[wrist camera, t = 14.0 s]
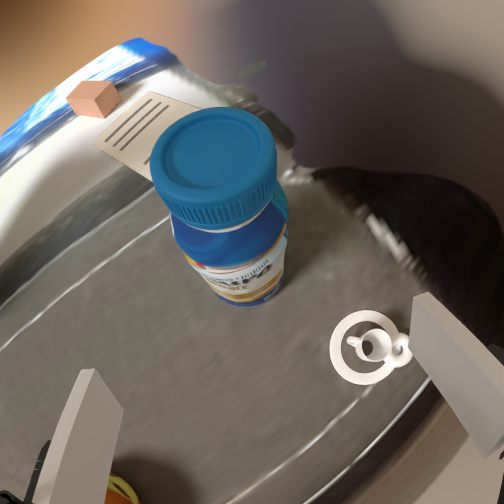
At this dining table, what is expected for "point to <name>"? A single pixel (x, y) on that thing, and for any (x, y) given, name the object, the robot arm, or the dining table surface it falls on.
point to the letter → (141, 130)
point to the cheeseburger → (119, 491)
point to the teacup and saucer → (383, 347)
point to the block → (94, 98)
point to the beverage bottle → (225, 201)
